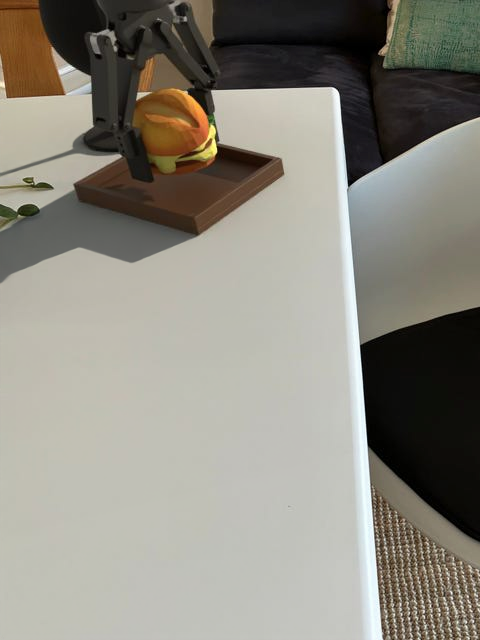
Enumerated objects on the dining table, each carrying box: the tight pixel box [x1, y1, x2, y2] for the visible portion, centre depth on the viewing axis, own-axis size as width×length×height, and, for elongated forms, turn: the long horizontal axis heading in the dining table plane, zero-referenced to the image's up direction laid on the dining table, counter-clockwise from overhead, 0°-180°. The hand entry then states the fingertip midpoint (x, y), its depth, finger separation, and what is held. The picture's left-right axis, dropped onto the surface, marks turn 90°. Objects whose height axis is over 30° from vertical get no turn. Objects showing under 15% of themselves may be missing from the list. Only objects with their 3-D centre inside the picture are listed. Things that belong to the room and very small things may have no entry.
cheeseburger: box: [132, 87, 217, 175], centre depth 94 cm, size 10×11×10 cm
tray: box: [72, 142, 285, 236], centre depth 97 cm, size 19×17×2 cm
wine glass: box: [37, 0, 130, 153], centre depth 103 cm, size 10×10×20 cm
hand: (177, 159), depth 96 cm, fingers closed on cheeseburger, 11 cm apart
